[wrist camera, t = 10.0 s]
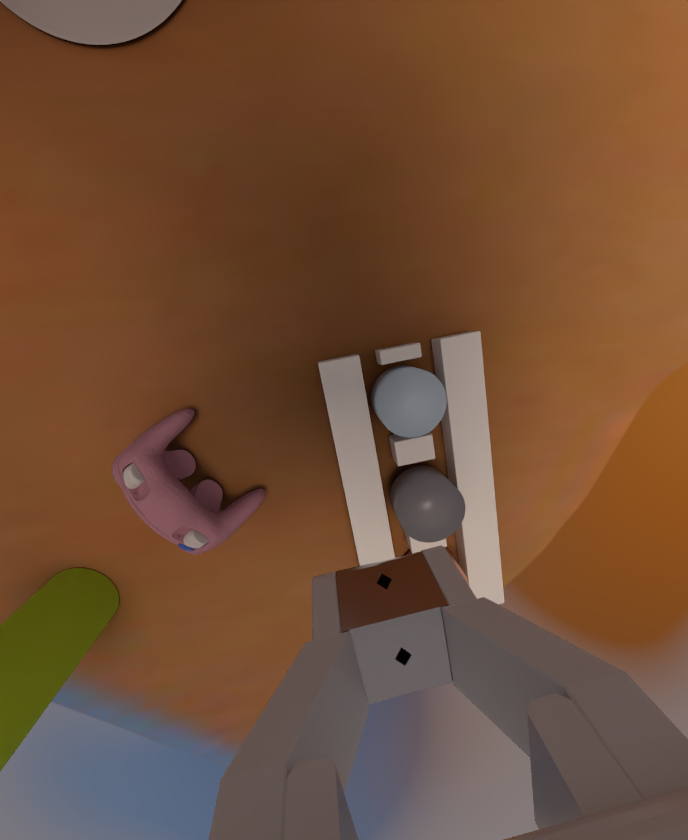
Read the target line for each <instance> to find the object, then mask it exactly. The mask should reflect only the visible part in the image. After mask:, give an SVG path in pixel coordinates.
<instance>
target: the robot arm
mask: <svg viewBox="0 0 688 840" xmlns="http://www.w3.org/2000/svg"><path fill="white" fill-rule="evenodd" d="M181 1H182V0H0V2H1V3H3V4H4V5H5V6H6V7H7V8H8V9H10V10H11V11H12V12H14V13H15V14H16V15H18V16H19V17H20V18H22V19H23V20H25V21H26V22H28V23H29V24H31V25H33V26H35V27H37V28H38V29H40V30H42V31H44V32H46V33H49V34H51V35H53V36H56V37H59V38H62V39H65V40H68V41H72V42H77V43H83V44H92V45H108V44H116V43H121V42H125V41H129V40H132V39H135V38H137V37H139V36H142V35H144V34H146V33H147V32H149V31H151V30H152V29H154V28H155V27H157V26H158V25H159V24H161V23H162V22H163V21H164V20H165V19H166V18H167V17H169V16H170V14H171V13H172V12H173V11H174V10H175V9H176V8H177V6H178V5H179V4H180V2H181ZM449 683H454V686H455V687H457V689H459V690H460V691H461V692H462V693H463V694H464V695H465V696H466V697H467V698H468V699H469V700H470V701H471V702H472V703H473V704H474V705H475V706H476V707H477V708H478V709H480V710H481V711H482V712H483V713H484V714H485V715H486V716H487V717H488V718H489V719H490V720H491V721H492V722H493V723H495V725H497V727H498V728H500V729H501V730H502V731H503V732H504V733H505V734H506V735H507V736H508V737H509V738H510V739H511V740H512V741H513V742H514V743H515V744H517V746H518V747H519V748H521V749H522V750H523V751H524V752H525V753H526V754H527V755H528V756H529V757H530V760H531V773H532V788H533V801H534V815H535V822H536V824H537V826H538V828H539V830H536V831H533V832H529V833H525V834H522V835H518V836H515V837H512V838H508V839H504V840H688V739H687V738H686V737H685V736H684V735H683V734H682V733H681V732H680V730H679V729H678V728H677V727H676V726H675V725H674V724H673V723H672V722H671V721H670V720H669V718H668V717H667V716H666V715H665V714H664V713H663V712H662V711H661V710H660V709H659V708H658V706H657V705H656V704H655V703H654V702H653V701H652V700H651V699H650V698H649V697H648V696H647V695H646V693H644V691H643V690H642V689H641V688H640V687H639V686H638V685H637V684H636V683H635V682H634V680H633V679H632V678H631V677H630V676H629V675H628V674H627V673H626V672H625V671H623V670H621V669H619V668H617V667H615V666H613V665H611V664H610V663H608V662H606V661H604V660H602V659H600V658H598V657H596V656H595V655H593V654H591V653H589V652H587V651H585V650H583V649H581V648H579V647H578V646H576V645H574V644H572V643H570V642H568V641H566V640H564V639H562V638H560V637H559V636H557V635H555V634H553V633H551V632H549V631H547V630H545V629H544V628H542V627H540V626H538V625H536V624H534V623H532V622H530V621H528V620H527V619H525V618H523V617H521V616H519V615H517V614H515V613H513V612H512V611H510V610H508V609H506V608H504V607H502V606H500V605H498V604H496V603H495V602H493V601H491V600H489V599H487V598H485V597H482V598H478V599H477V598H476V596H475V595H474V593H473V591H472V590H471V588H470V587H469V585H468V583H467V582H466V580H465V579H464V577H463V576H462V574H461V572H460V571H459V569H458V568H457V566H456V564H455V563H454V561H453V560H452V558H451V557H450V555H449V553H448V552H447V550H446V549H445V547H443V546H442V545H440V546H436V547H432V548H429V549H425V550H421V551H420V552H416V553H412V554H408V555H404V556H400V557H396V558H392V559H388V560H384V561H380V562H375V563H371V564H366V565H362V566H357V567H353V568H348V569H344V570H339V571H336V572H332V573H327V574H323V575H319V576H314V577H313V580H312V641H309V642H305V644H304V645H303V647H302V649H301V650H300V652H299V653H298V655H297V657H296V658H295V660H294V662H293V663H292V665H291V666H290V668H289V670H288V671H287V673H286V674H285V676H284V678H283V679H282V681H281V683H280V684H279V686H278V687H277V689H276V691H275V692H274V694H273V696H272V697H271V699H270V700H269V702H268V704H267V705H266V707H265V709H264V710H263V712H262V713H261V715H260V717H259V718H258V720H257V722H256V723H255V725H254V726H253V728H252V730H251V731H250V733H249V734H248V736H247V738H246V739H245V741H244V743H243V744H242V746H241V747H240V749H239V751H238V752H237V754H236V756H235V757H234V759H233V760H232V762H231V764H230V765H229V767H228V769H227V770H226V772H225V773H224V775H223V777H222V778H221V782H220V786H219V792H218V796H217V801H216V806H215V812H214V816H213V821H212V826H211V831H210V836H209V840H359V839H358V836H357V832H356V829H355V826H354V823H353V820H352V817H351V813H350V810H349V807H348V804H347V801H346V797H345V794H344V792H345V789H346V785H347V782H348V778H349V775H350V772H351V768H352V765H353V762H354V758H355V755H356V751H357V748H358V745H359V741H360V738H361V734H362V731H363V727H364V724H365V721H366V717H367V714H368V710H369V706H368V705H369V704H373V703H376V702H379V701H383V700H386V699H389V698H393V697H396V696H399V695H403V694H406V693H409V692H414V691H418V690H422V689H427V688H431V687H436V686H440V685H444V684H449Z"/></svg>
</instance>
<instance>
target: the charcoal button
mask: <svg viewBox="0 0 688 840" xmlns="http://www.w3.org/2000/svg"><path fill="white" fill-rule="evenodd" d="M390 502H391V505H392V507H393V510H394V512H395V514H396V516H397V518H398V520H399V522H400V525H401V527H402V528H403V530H404V531H405V533H406V534H407V535H408V536H410V537H411V538H413V539H415V540H417V541H420V542H426V543H431V542H437V541H441V540H443V539H445V538H447V537H449V536H450V535H452V534H453V533H454V532H455V531H456V530H457V529H458V528H459V526H460V525H461V523H462V521H463V519H464V516H465V501H464V498H463V496H462V494H461V493H460V491H459V490H458V489H457V488H456V487H455V486H454V485H453V484H452V483H451V482H450V481H449V480H448V479H447V477H446V476H445V475H444V474H443V473H442V472H440V471H439V470H438V469H436V468H434V467H431V466H425V465H420V466H414V467H411V468H409V469H407V470H405V471H404V472H402V473H401V474H400V475H399V476H398V477H397V478H396V479H395V481H394V483H393V485H392V487H391V491H390Z"/></svg>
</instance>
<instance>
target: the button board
mask: <svg viewBox="0 0 688 840" xmlns="http://www.w3.org/2000/svg"><path fill="white" fill-rule="evenodd" d="M431 343H432V351H433V359H434V367H435V375H436V377H437V378H438V379H439V380H440V382H441V383H442V385H443V387H444V389H445V392H446V398H447V403H446V410H445V413H444V415H443V418H442V419H441V424H442V432H443V440H444V448H445V456H446V464H447V472H448V480H449V481H450V482H451V483H452V484H453V485H454V486H455V487H456V488H457V489H458V490H459V491H460V493H461V494H462V496H463V498H464V501H465V516H464V519H463V521H462V523H461V525H460V526H459V528H458V529H457V530H456V531H455V537H456V545H457V553H458V561H459V566H460V567H461V569H462V571H463V572H464V574H465V575H466V577H467V580H468V584H469V587H470V588H471V590H472V591H473V593H474V595H475V596H476V598H477V599H478V598H482V597H485V598H487V599H489V600H491V601H493V602H495V603H496V604H501V603H504V594H503V582H502V571H501V559H500V548H499V537H498V525H497V514H496V503H495V492H494V480H493V469H492V458H491V446H490V435H489V424H488V412H487V401H486V390H485V379H484V367H483V356H482V345H481V333H480V331H471V332H464V333H459V334H454V335H449V336H444V337H439V338H434V339H431ZM375 355H376V361H377V363H378V364H380V365H384V364H389V363H394V362H399V361H404V360H409V359H414V358H419V357H422V353H421V346H420V343H409V344H404V345H399V346H394V347H389V348H384V349H379V350H375ZM318 366H319V371H320V376H321V381H322V385H323V390H324V395H325V400H326V405H327V410H328V414H329V419H330V424H331V429H332V434H333V438H334V443H335V448H336V453H337V458H338V463H339V467H340V472H341V477H342V482H343V487H344V491H345V496H346V501H347V506H348V511H349V516H350V520H351V525H352V530H353V535H354V540H355V544H356V549H357V554H358V559H359V564H360V566H362V565H366V564H371V563H375V562H380V561H384V560H388V559H392V558H395V555H394V550H393V544H392V538H391V533H390V527H389V521H388V516H387V510H386V504H385V499H384V493H383V487H382V482H381V476H380V471H379V465H378V459H377V454H376V448H375V442H374V437H373V431H372V425H371V420H370V414H369V408H368V403H367V397H366V391H365V386H364V380H363V374H362V369H361V363H360V357H359V355H357V354H354V355H349V356H344V357H339V358H334V359H329V360H324V361H319V362H318ZM389 440H390V446H391V452H392V458H393V459H394V461H395V462H396V464H397V465H398V466H403V465H408V464H412V463H417V462H422V461H426V460H431V459H435V452H434V444H433V437H432V434H431V433H430V432H428V433H427V434H425V435H422V436H419V437H413V438H407V437H401V436H398V435H396V434H393V435H389ZM405 537H406V541H407V544H408V546H409V548H410V550H411V552H412V553H416V552H420V551H421V550H425V549H429V548H432V547H436V546H440V545H442V546H443V547H446V546H447V543H446V538H445V539H443V540H441V541H437V542H431V543H426V542H420V541H417V540H415V539H413V538H411V537H410V536H408V535H407V534H406V533H405Z"/></svg>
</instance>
